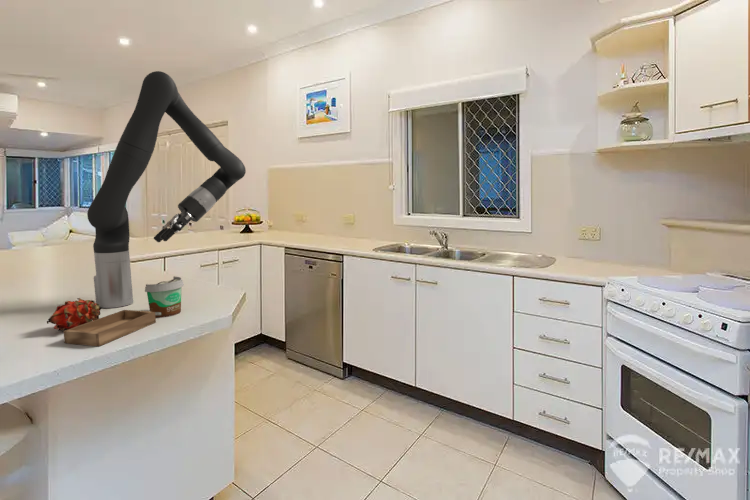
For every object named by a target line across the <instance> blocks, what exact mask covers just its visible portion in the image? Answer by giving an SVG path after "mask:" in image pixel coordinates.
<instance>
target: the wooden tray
mask: <svg viewBox="0 0 750 500" xmlns="http://www.w3.org/2000/svg"><path fill="white" fill-rule="evenodd" d="M156 319H157V318H156V317H155V312H150V310H149V311H146V310H135V309H134V310H133V309H132V310H131V309H123V310H120V311H117V312H114V313H111V314H109V315H106V316H102V317H99V319H97V320H94V321H93V320H92V321H91V322H88V323H85V324H82V325H79V326H76V327H74V328H71V329H68V330H62V331H63V342H64V344H69V345H80V346H92V347H102V346H104V345H107V344H109V343H111V342H114V341H115V340H118V339H120V338H123V337H125V336H128V335H130V334H133V333H135V332H138V331H139V330H141V329H144V328H146V327H148V326H150V325H151V326H152V325H153V324H156V323H157V322H156V321H157V320H156Z"/></svg>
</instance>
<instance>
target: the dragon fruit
mask: <svg viewBox="0 0 750 500" xmlns="http://www.w3.org/2000/svg"><path fill="white" fill-rule="evenodd" d="M76 299H77V300H75V301H71V300H66V301H65V302H64V304H62V305H58V306H57V307H56V309H55V311H54V312H53V313H52V314H51V316H50V317H48V319H47V321H46V324H49V323H50V324H52V325H54V326H53V330H58V332H59V331H60V332H61V331H65V330H68V329H71V328H74V327H76V326H79V325H82V324H85V323H88V322H91V321H94V320H97V319H99V318H100V316H101V309H102V307H100V305H99V304H97V303H96V302H95V300H94V299H86V300H84V299H82V298H80V297H79V298H76Z"/></svg>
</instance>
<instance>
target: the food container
mask: <svg viewBox="0 0 750 500" xmlns="http://www.w3.org/2000/svg"><path fill="white" fill-rule="evenodd" d="M184 286H185V284H184V280H183V279H182V277H180V276H175V275H174V276H173V279H171V280H165V281H164V280H163V281H160V282H157V283H154V284H150V283H149V284H148V283H147V284H145V286H144V287H145V288H144V292H145V293H146V294H147V295H146V296H147V302H148V307H149V312H155V317H156V319H160V318H168V317H172V316H176V315H178V314H180V313H181V312H182V287H184Z"/></svg>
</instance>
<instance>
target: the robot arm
mask: <svg viewBox="0 0 750 500" xmlns="http://www.w3.org/2000/svg"><path fill="white" fill-rule="evenodd" d="M165 113H166V114H167V115H168V116H169V117H170V118H171V119H172V120H173V121H174V122H175V123H176V124H177V125H178V126H179V127H180V129H181V130H182V131H183V133H185V135H186V136H187V137H188V139H189V140H190V141H191V142H192V143H193V145H195V148H197V149H198V150H199V151H200V153H201V154H202V155H203V156H204V157H205V158H206V159H207V160H208V161H210V162H214V163H216V164H217V165H218V167H219V168H218V169H217V170H216V171H215V172H214V173H213V174H212V175H211V176H210V177H209V178H207V179H206V180H205V181H204V182H202V184H200V185H199V186H198V187H197V188H195V189H194V190H192V191H191V192H190V193H189V194H188V195H187V196H186V197H185V198H184V199H183V200H181V201H180V202H179V203H178V204H177V208H178V210H179V211H180V213H175V214H174V215H173V216H172V218H170V220H168V221H167V222H166V223H165V225H163V226H162V228H161V230H160V231H159V232H157V234H156V235H154V237H153V240H155V241H156V242H157V243H161V242H162V241H163V242H167V241H168V240H170V238H172V237H173V236H174V235H175V234H176V233H178V232H181V231H183V230H182V229H184V228H185V226H187V225H188V224H189V223H190V222H196V223H197V222H199V221H200V220H201V218H203V217H204V216H205V215H206V214H207V213H208V212H209V211H210V210H211V209H212V208H213V207H214V205H215V204H216V203H217V202H218V201H219V200H220V199H222V197H223V196H224V195H225V194H226V193H227V191H228V190H229V189H230V188H231V187H232V186H234V185H236V183H237V182H239V181H240V180H242V179H243V178H245V175H246V172H247V171H246V166H245V164H244V162H243V161H242V160H241V158H239V157H238V156H237V155H236V154H234V152H232V151H231V150H229V149H228V148H227V147H226V146H225V145H224V144H223V143H222V142H221V141H220V140H219V138H218V137H217V136H216V135H215V134H214V132H212V130H211V129H210V128H209V127H208V126H207V125H206V124H205V123H204V122H203V121H202V120H200V118H199V117H198V116H197V115H196V114H195V113H194V112H193V111H192V110H191V108H189V107H188V105H187V103H186V101H184V99H183V98H182V96H181V94H180V93H179V90H178V87H177V84H176V82H175V81H174V80H173V78H172V77H171V76H170V74H167V73H166V72H164V71H160V70H157V71H156V70H155V71H152V72H150V73H148V74H146V76H145V77H144V79H143V80H142V84H141V87H140V91H139V95H138V99H137V101H136V106H135V107H134V111H133V113H132V115H131V117H130V118H129V120H128V122H127V124H126V125H125V127H124V129H123V132H122V133H121V136H120V138H119V141H118V143H117V145H116V147H115V150H114V152H113V154H112V158H111V160H110V163H109V166H108V168H107V171H106V174H105V177H104V180H103V182H102V185H101V186H100V188H99V190H98V191H97V194H96V195H95V196H94V199H93V200H92V202H91V203H90V206H89V207H88V209H87V213H86V214H87V220H88V222H89V224H90V225H91V226H92V227H93V228H94V229H95V238H94V242H93V246H92V248H93V256H94V265H95V267H94V268H95V275H94V276H93V284H94V296H95V303H97V304H99V305H100V308H101V309H102V308H103V309H106V308H107V309H110V308H111V309H114V308H120V307H124V306H125V307H126V306H128V305H132V304H133V303H134V295H133V283H132V271H131V258H130V257H131V256H130V246H129V244H130V221H129V213H128V210H127V208H126V203H127V201H128V197H129V196H130V194H131V191H132V189H133V188H134V186H135V185H136V184H137V183H138V181H139V180H140V178H141V176H143V174H144V172H145V171H146V169H147V167H148V166H149V162H150V161H151V158H152V156H153V153H154V151H155V148H156V147H155V146H156V143H157V138H158V134H159V130H160V124H161V122H162V120H163V117H164V115H165Z"/></svg>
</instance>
